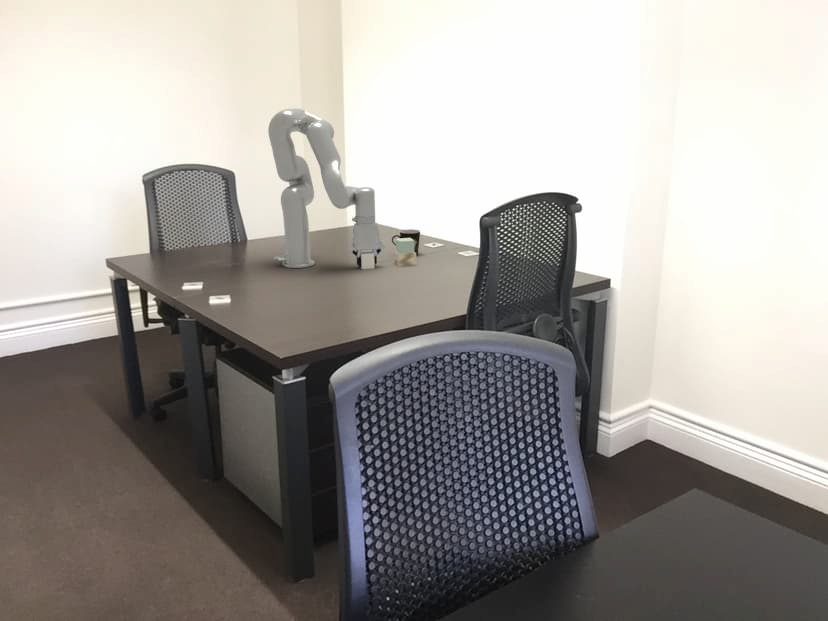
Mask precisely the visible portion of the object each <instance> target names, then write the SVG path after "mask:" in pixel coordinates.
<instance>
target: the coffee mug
mask: <svg viewBox="0 0 828 621" xmlns="http://www.w3.org/2000/svg"><path fill="white" fill-rule="evenodd" d="M397 237H398V239H399V238H411V239H413V240H414V252H415V253H416V257H417V256H418V255H419V246H420V238H421V230H418V229H410V228H408V229H401V230H399V235H397V234H396V235H393V236H392V237H391V242H392V243H393V245H394V246H395V247H396V242H394V239H395V238H397Z"/></svg>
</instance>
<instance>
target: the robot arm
mask: <svg viewBox="0 0 828 621" xmlns="http://www.w3.org/2000/svg"><path fill="white" fill-rule="evenodd" d="M293 132H299V133H300V134H302V135H305V136H306V138H307V140H308V143H309V144H310V145H309V146H310V148H311V150H312V152H313V154H314V156H315V158H316V161H317V163H318V165H319V168H320V169H319V170H320V175H321V179H322V183H323V187H324V189H325V191H326V192H325V193H326V194H327V196H328V199H329V201H330V202H331V204H332V205H333V207H335V208H336V209H338V210H339V209H340V210H343V209H347V208H349V207H350V206H351V207H352V206H355V209H354V210H355V216H354V217H352V218H351V221H352V222H354V225H353V229H352V242H351V243H350V244H349V245H348V247H347V250H348V251H349V252H351V253H352V254H353V255H355V256H356V265H357V266H358V267H359V268H360V267H361V257H360V254H361V251H372V252H373V253H374V264H375V267H377V266H376V264H377V263H378V260H377V259H378V255H379V254H380V252H381V251H383V250H384V249H385V247H386V245H385V244H384V243H383V242H382V241H381V238H380V230H379V229H380V228H379V225H378V222H376V199H375V198H376V197H375V190H374V189H373V187H368V186H367V187H355V186H350V185H348V186H347V185H346V186H345V184H344V182H343V179H342V175H341V171H340V170H341V162H342V161H341V159H342V158H341V156H340V154H339V152H338V150H337V146H336V145H335V142H334V141H333V138H334V136H335V129H334V127H333V125H332V124H331V123H330V122H329V121H327V120H325V119H323V118H321V117H320V116H316V115H315V114H313V113H310V112H308V111H306V110H304V109H301V108H285V109H282V110H280V111H278V112H277V113H276V114H275V115H273V116H272V118H271V120H270V122H269V123H268V139H269V142H270V146H271V150H272V151H271V152H272V154H273V160H274V163H275V168H276V173H277V175H278V178H279V179H280V180H281V181H282V182H287V183H288V184H289V186H287V187H286V188H284V189H283V191H282V192H281V195H280V206H281V210H282V216H283V228H284V241H285V242H284V243H285V244H284V245H285V252H284V254H282V255H275V256H274V258H273V259H274V262H282V266H283V267H285V268H289V269H292V268H293V269H300V268H309V267H312V266H314V265H315V264H316V263H315V260H313V259H311V245H310V226H309V225H310V224H309V216H308V211H307V206H308V205H310V204H311V203H312V202H313V201H314V198H315V189H314V185H313V181H312V176H311V172H310V168H309V165H308V162H307V160H305V159H304V158H303V157H302V156H301V155H297V153H296V148H295V144H294V141H293V139H292V136H291V134H292V133H293Z"/></svg>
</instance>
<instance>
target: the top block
mask: <svg viewBox="0 0 828 621" xmlns="http://www.w3.org/2000/svg"><path fill="white" fill-rule="evenodd" d="M360 257H361V267H359V268H360V269H361V270H371V269H375V267H376V266H375V264H374V253H373V252H372V250H361V254H360Z"/></svg>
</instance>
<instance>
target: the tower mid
mask: <svg viewBox="0 0 828 621" xmlns="http://www.w3.org/2000/svg"><path fill="white" fill-rule="evenodd" d="M395 244H396V246H395V251H397V252H398V253H399V254H408V253H414V240H413V239H411V238H399V237H398V238H395Z"/></svg>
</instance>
